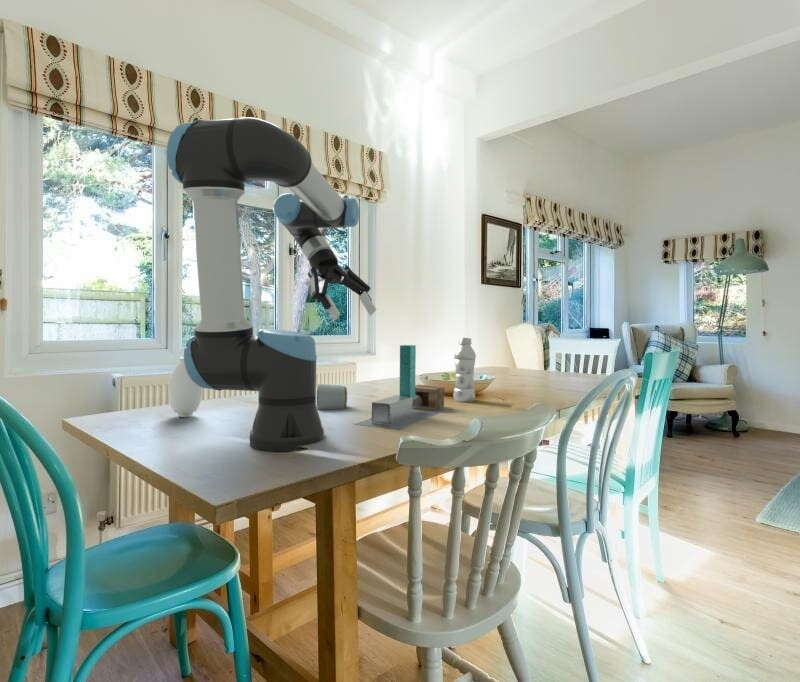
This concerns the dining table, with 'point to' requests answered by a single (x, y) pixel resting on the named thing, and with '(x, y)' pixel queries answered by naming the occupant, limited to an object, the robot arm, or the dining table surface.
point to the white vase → (183, 391)
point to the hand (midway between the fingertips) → (355, 315)
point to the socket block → (430, 397)
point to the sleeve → (391, 410)
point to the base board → (416, 417)
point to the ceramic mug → (331, 396)
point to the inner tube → (408, 373)
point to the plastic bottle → (464, 371)
